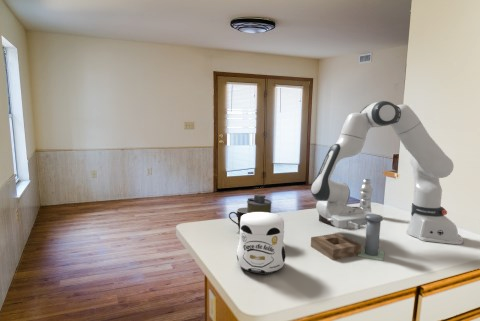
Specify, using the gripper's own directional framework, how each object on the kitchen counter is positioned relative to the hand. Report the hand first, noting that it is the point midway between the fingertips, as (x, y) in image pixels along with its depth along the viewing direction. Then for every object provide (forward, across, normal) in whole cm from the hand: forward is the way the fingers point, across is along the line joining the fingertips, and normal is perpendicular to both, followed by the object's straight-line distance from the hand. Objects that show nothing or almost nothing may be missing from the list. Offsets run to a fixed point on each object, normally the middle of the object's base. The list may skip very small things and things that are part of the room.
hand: (367, 225), depth 136 cm
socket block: (-6, -11, +11) cm, 16 cm away
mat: (+3, 0, +11) cm, 11 cm away
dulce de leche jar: (-4, -46, +11) cm, 47 cm away
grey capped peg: (+3, 0, +10) cm, 11 cm away
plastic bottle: (-38, +36, +11) cm, 54 cm away
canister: (-27, -35, +11) cm, 46 cm away
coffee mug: (-41, -36, +11) cm, 55 cm away
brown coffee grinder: (-38, +12, +11) cm, 41 cm away
